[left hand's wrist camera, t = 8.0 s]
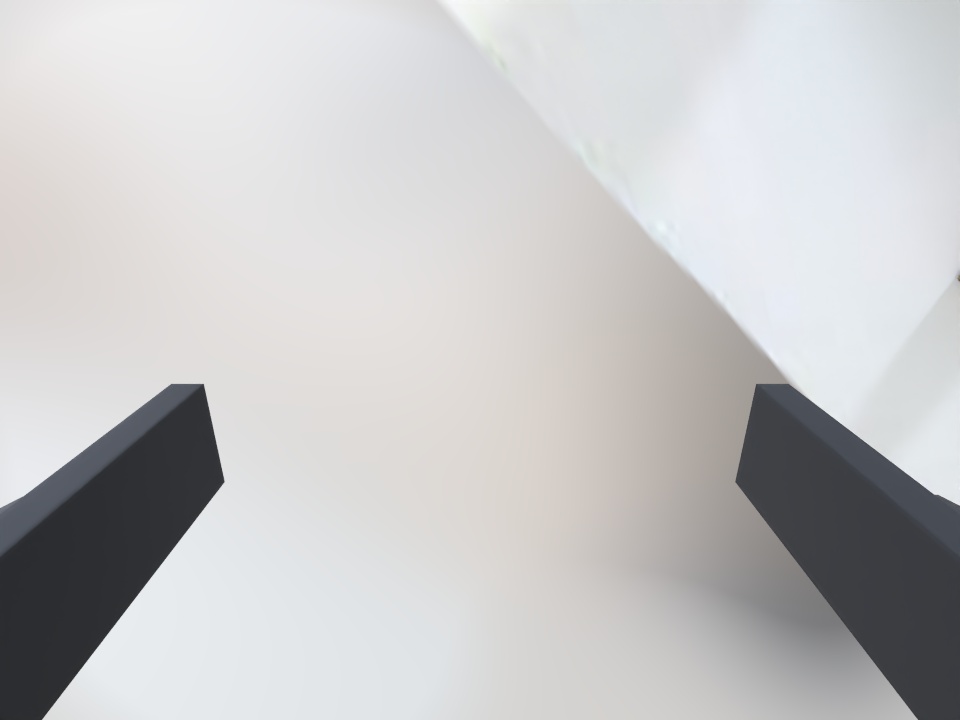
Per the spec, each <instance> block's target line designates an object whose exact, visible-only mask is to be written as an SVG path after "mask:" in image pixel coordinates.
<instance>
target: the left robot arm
mask: <svg viewBox="0 0 960 720" xmlns="http://www.w3.org/2000/svg"><path fill="white" fill-rule="evenodd" d="M223 483H224V477H223V472H222V468H221V463H220V458H219V454H218V449H217V445H216V440H215V435H214V430H213V425H212V421H211V416H210V411H209V407H208V402H207V397H206V393H205V388H204V384H171V385H170V386H168V387H167V388H166V389H164V390H163V391H162V392H160V393H159V394H158V395H156V396H155V397H154V398H152V399H151V400H150V401H149V402H147V403H146V404H145V405H143V406H142V407H141V408H139V409H138V410H137V411H135V412H134V413H133V414H131V415H130V416H129V417H127V418H126V419H125V420H124V421H122V422H121V423H120V424H118V425H117V426H116V427H114V428H113V429H112V430H110V431H109V432H108V433H106V434H105V435H104V436H103V437H101V438H100V439H99V440H97V441H96V442H95V443H93V444H92V445H91V446H89V447H88V448H87V449H85V450H84V451H83V452H81V453H80V454H79V455H78V456H76V457H75V458H74V459H72V460H71V461H70V462H68V463H67V464H66V465H64V466H63V467H62V468H60V469H59V470H58V471H56V472H55V473H54V474H53V475H51V476H50V477H49V478H47V479H46V480H45V481H43V482H42V483H41V484H39V485H38V486H37V487H35V488H34V489H33V490H32V491H30V492H29V493H28V494H26V495H25V496H24V497H21V498H19V499H17V500H16V501H14V502H12V503H10V504H8V505H6V506H4V507H2V508H0V720H42V719H43V718H44V716H45V715H46V714H47V712H48V711H49V710H50V708H51V707H52V706H53V705H54V703H55V702H56V701H57V699H58V698H59V697H60V695H61V694H62V693H63V691H64V690H65V689H66V688H67V686H68V685H69V684H70V682H71V681H72V680H73V679H74V677H75V676H76V675H77V673H78V672H79V671H80V669H81V668H82V667H83V666H84V664H85V663H86V662H87V660H88V659H89V658H90V656H91V655H92V654H93V653H94V651H95V650H96V649H97V647H98V646H99V645H100V643H101V642H102V641H103V639H104V638H105V637H106V636H107V634H108V633H109V632H110V630H111V629H112V628H113V626H114V625H115V624H116V623H117V621H118V620H119V619H120V617H121V616H122V615H123V613H124V612H125V611H126V610H127V608H128V607H129V606H130V604H131V603H132V602H133V600H134V599H135V598H136V597H137V595H138V594H139V593H140V591H141V590H142V589H143V587H144V586H145V585H146V584H147V582H148V581H149V580H150V578H151V577H152V576H153V574H154V573H155V572H156V570H157V569H158V568H159V567H160V565H161V564H162V563H163V561H164V560H165V559H166V557H167V556H168V555H169V554H170V552H171V551H172V550H173V548H174V547H175V546H176V544H177V543H178V542H179V540H180V539H181V538H182V537H183V535H184V534H185V533H186V531H187V530H188V529H189V528H190V526H191V525H192V524H193V522H194V521H195V520H196V518H197V517H198V516H199V514H200V513H201V512H202V511H203V509H204V508H205V507H206V505H207V504H208V503H209V501H210V500H211V499H212V498H213V496H214V495H215V494H216V492H217V491H218V490H219V488H220V487H221V486H222V484H223ZM736 483H737V484H738V486H739V487H740V488H741V490H742V491H743V492H744V494H745V495H746V496H747V498H748V499H749V500H750V501H751V503H752V504H753V505H754V507H755V508H756V509H757V511H758V512H759V513H760V514H761V516H762V517H763V518H764V520H765V521H766V522H767V524H768V525H769V526H770V528H771V529H772V530H773V531H774V533H775V534H776V535H777V537H778V538H779V539H780V541H781V542H782V543H783V544H784V546H785V547H786V548H787V550H788V551H789V552H790V554H791V555H792V556H793V557H794V559H795V560H796V561H797V563H798V564H799V565H800V566H801V568H802V569H803V570H804V572H805V573H806V574H807V576H808V577H809V578H810V580H811V581H812V582H813V584H814V585H815V586H816V587H817V589H818V590H819V591H820V593H821V594H822V595H823V597H824V598H825V599H826V600H827V602H828V603H829V604H830V606H831V607H832V608H833V610H834V611H835V612H836V613H837V615H838V616H839V617H840V619H841V620H842V621H843V622H844V624H845V625H846V626H847V628H848V629H849V630H850V632H851V633H852V634H853V636H854V637H855V638H856V639H857V641H858V642H859V643H860V645H861V646H862V647H863V649H864V650H865V651H866V652H867V654H868V655H869V656H870V658H871V659H872V660H873V662H874V663H875V664H876V666H877V667H878V668H879V669H880V671H881V672H882V673H883V675H884V676H885V677H886V679H887V680H888V681H889V682H890V684H891V685H892V686H893V688H894V689H895V690H896V692H897V693H898V694H899V695H900V697H901V698H902V699H903V701H904V702H905V703H906V705H907V706H908V707H909V708H910V710H911V711H912V712H913V714H914V715H915V716H916V718H917V719H918V720H960V506H959V505H957V504H955V503H953V502H951V501H949V500H947V499H945V498H943V497H941V496H939V495H934V494H932V493H931V492H930V491H929V490H927V489H926V488H925V487H923V486H922V485H921V484H919V483H918V482H917V481H915V480H914V479H913V478H911V477H910V476H909V475H907V474H906V473H905V472H904V471H902V470H901V469H900V468H898V467H897V466H896V465H894V464H893V463H892V462H890V461H889V460H888V459H886V458H885V457H884V456H883V455H881V454H880V453H879V452H877V451H876V450H875V449H873V448H872V447H871V446H869V445H868V444H867V443H865V442H864V441H863V440H861V439H860V438H859V437H858V436H856V435H855V434H854V433H852V432H851V431H850V430H848V429H847V428H846V427H844V426H843V425H842V424H840V423H839V422H838V421H836V420H835V419H834V418H833V417H831V416H830V415H829V414H827V413H826V412H825V411H823V410H822V409H821V408H819V407H818V406H817V405H815V404H814V403H813V402H812V401H810V400H809V399H808V398H806V397H805V396H804V395H802V394H801V393H800V392H798V391H797V390H796V389H794V388H793V387H792V386H790V385H789V384H756V388H755V393H754V397H753V402H752V407H751V412H750V416H749V421H748V425H747V430H746V435H745V439H744V444H743V449H742V454H741V458H740V463H739V468H738V473H737V477H736Z"/></svg>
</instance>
